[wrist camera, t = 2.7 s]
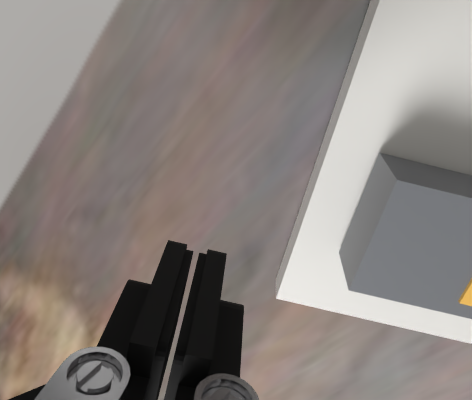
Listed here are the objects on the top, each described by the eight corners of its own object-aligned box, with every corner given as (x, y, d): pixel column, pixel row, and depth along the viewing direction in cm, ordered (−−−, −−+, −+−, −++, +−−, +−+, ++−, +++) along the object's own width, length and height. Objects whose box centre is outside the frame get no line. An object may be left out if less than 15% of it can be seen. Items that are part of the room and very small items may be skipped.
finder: (379, 152, 18) (398, 181, 15) (563, 198, 18) (612, 234, 16) (338, 252, 20) (349, 292, 18) (503, 291, 21) (538, 337, 18)
